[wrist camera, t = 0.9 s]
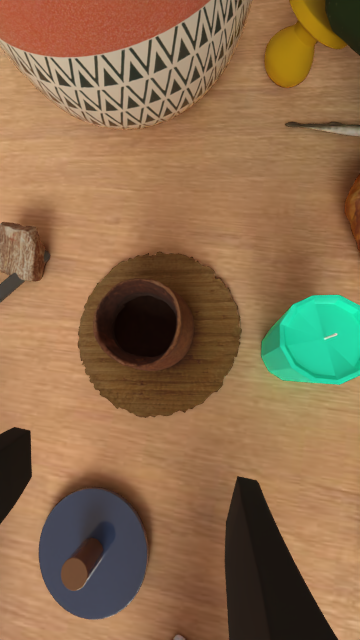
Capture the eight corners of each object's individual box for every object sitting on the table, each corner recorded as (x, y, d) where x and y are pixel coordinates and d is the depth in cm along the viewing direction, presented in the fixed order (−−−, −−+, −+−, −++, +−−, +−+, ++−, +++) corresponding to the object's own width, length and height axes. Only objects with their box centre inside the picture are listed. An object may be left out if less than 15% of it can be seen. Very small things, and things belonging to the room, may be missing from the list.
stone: (19, 255, 38) (-16, 269, 34) (9, 210, 35) (-32, 221, 31) (61, 272, 36) (28, 289, 32) (55, 227, 33) (17, 240, 29)
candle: (330, 332, 28) (403, 302, 17) (313, 391, 28) (377, 402, 16) (270, 314, 30) (299, 274, 18) (252, 369, 29) (270, 365, 17)
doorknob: (364, 50, 28) (351, -10, 30) (301, 13, 25) (290, -51, 27) (305, 115, 35) (297, 63, 37) (250, 92, 32) (244, 37, 34)
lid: (110, 638, 26) (89, 687, 22) (25, 558, 29) (-9, 589, 25) (171, 530, 27) (161, 558, 23) (83, 462, 30) (60, 476, 26)
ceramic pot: (184, 453, 28) (171, 478, 21) (49, 361, 32) (1, 358, 25) (271, 296, 30) (285, 273, 23) (132, 228, 34) (108, 190, 27)
